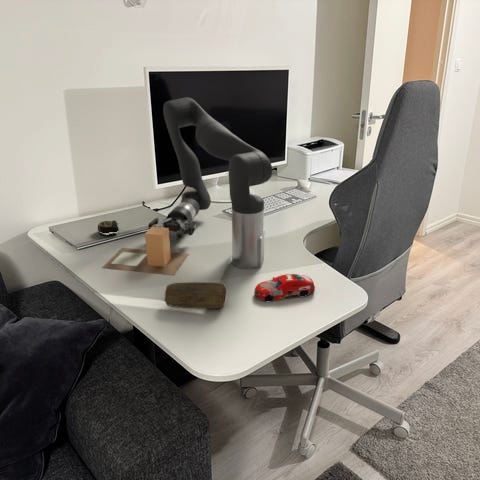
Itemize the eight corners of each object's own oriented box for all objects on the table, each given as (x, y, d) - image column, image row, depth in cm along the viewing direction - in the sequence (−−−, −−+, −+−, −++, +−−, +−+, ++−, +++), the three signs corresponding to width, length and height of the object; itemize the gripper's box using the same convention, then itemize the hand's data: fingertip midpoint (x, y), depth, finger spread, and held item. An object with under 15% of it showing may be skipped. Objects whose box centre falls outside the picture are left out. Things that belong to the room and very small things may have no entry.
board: (189, 258, 141) (188, 232, 138) (174, 280, 129) (172, 252, 125) (122, 251, 145) (119, 227, 142) (102, 272, 133) (98, 245, 129)
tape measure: (119, 236, 157) (118, 226, 155) (98, 238, 155) (97, 228, 153) (118, 228, 163) (117, 218, 161) (98, 230, 161) (96, 220, 159)
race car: (257, 304, 117) (258, 288, 115) (251, 291, 123) (251, 275, 121) (317, 297, 121) (318, 280, 119) (308, 284, 127) (309, 268, 125)
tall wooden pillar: (170, 258, 137) (168, 228, 133) (164, 266, 133) (162, 235, 129) (154, 257, 138) (151, 226, 134) (147, 265, 134) (144, 233, 129)
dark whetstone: (226, 298, 120) (226, 276, 117) (225, 313, 113) (225, 290, 111) (169, 298, 120) (167, 276, 117) (165, 313, 113) (163, 290, 111)
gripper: (160, 204, 152) (141, 222, 138) (201, 207, 149) (186, 226, 135) (162, 225, 155) (143, 245, 141) (202, 228, 153) (187, 249, 138)
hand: (164, 235), depth 138 cm, fingers open, 8 cm apart
